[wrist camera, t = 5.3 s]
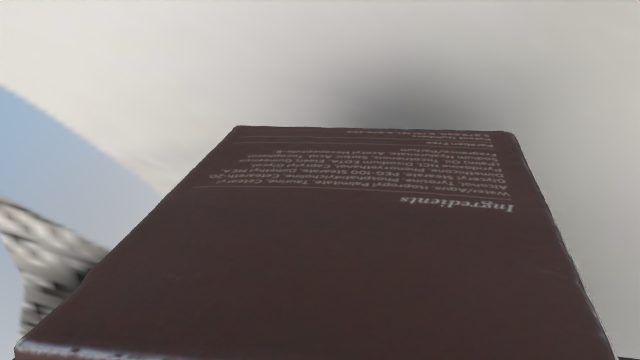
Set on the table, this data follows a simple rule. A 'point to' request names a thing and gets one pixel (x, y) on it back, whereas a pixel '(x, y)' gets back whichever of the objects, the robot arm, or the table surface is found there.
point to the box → (337, 258)
